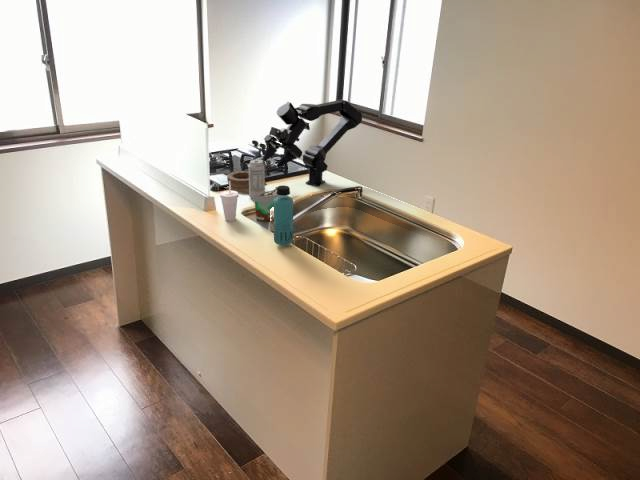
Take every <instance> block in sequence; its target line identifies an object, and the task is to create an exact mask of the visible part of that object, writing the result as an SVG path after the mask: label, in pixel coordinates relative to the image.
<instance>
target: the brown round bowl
mask: <svg viewBox="0 0 640 480" xmlns="http://www.w3.org/2000/svg"><path fill="white" fill-rule="evenodd" d="M226 176H227V179H226V180H227V181H228V184H229V181H230V185H231V190H233V191H236V192H238V193H239V194H240V193H241V194H244V195H245V194H246V195H249V170H237V171H232V172H230V173H228V174H227V175H226ZM227 181H226V182H227ZM266 184H267V181H265V185H266ZM224 188H225V189H226V190H225V189H224V190H225V191H227V190H229V186H227V187H224Z"/></svg>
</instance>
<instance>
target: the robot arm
mask: <svg viewBox="0 0 640 480" xmlns="http://www.w3.org/2000/svg"><path fill="white" fill-rule="evenodd" d="M337 112H338V114H339V116H340V117H339V121H338V123H337V125H335V126H334V128H333V129H332V130H330V132H329V133H328V134H327V135H325V137H324V138H323V139H322V140H321V141H320V142H319V144H318V145H316V146H314V145H310V146H308V148H307V149H306V150H304V154H303V151H302V150H301V149H300V147H299V146H298V145H297V144H295V143H296V142H299V141H300V138H299V137H300V136H301V135H302V133H303V132H304V130H308V131H310V129H311V128H310V127H311V126H310V122H313V121H316V120H318V119H320V117H321V116H323V115H328V114H332V113H337ZM276 115H277V116H278V117H279V118H280V119H281V120H282V121H283V123H285V125H287V128H283V127H282V128H281V129H279V128H276V127H273V126H271V127H270V131H269V133H268V134H266V136H265V137H264V138H263V140H264V144H265V146H266V147H265V152H264V155H263V159H262V161H263V162H266V161H268V160H269V159H270V158H271V157H272V156H274V155H275V154H276V153H277V152H278V149H283V154H282V156H281V157H280V159H279V161H278V162H277V164H276V167H277V168H280V167H282V166H284V165H286V164H288V163H290V162H292V161H294V160H297V159H301V158H302V162H303V164H304V167H305V168H307V169H308V180H307V181H305V184H306V185H312V186H316V187H321V186H322V185H323V184H325V183H326V180H324V179H323V173H324V172H326V171H327V170H328V167H329V166H328V164H327V163H326V162H325V161H326V157H327V153H328V152H330V151H331V149H332V148H333V147H334V146H335V145H336V144H337V143H338V142H339V140H341V138H342V137H343V136H344V135H345V134H346V133H347V132H349V131H350V130H352V129H355V128H356V127H357V126H359V125H360V124H361V123H362V121H363V115H362V112H360V111H359V110H357V108H355V107H354V106H352V105H351V103H350V102H348V100H344V99H337V100H332V101H328V102H322V103H318V104H313V103H301V104H300V105H299V106H298V107H295V106H293V104H292V102H290V101H287V102H286V103H285V104H282V105H281V106H279V107H278V108H277V110H276ZM307 121H309V122H307Z"/></svg>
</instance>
